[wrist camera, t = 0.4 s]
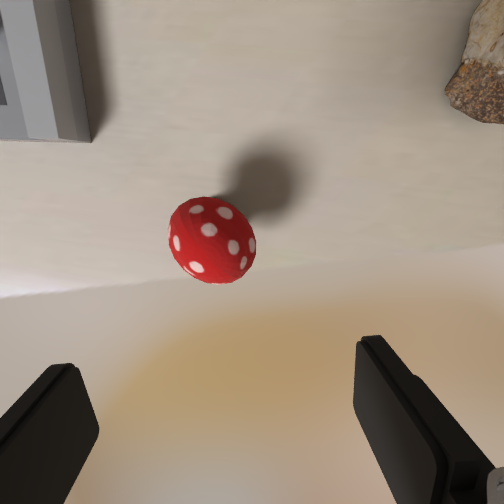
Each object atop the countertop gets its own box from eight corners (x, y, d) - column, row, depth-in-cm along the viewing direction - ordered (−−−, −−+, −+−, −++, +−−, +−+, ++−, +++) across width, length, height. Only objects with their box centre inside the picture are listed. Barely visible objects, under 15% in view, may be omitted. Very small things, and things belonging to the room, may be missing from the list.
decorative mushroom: (172, 215, 37) (130, 247, 23) (218, 173, 36) (204, 180, 22) (221, 265, 40) (210, 322, 26) (265, 228, 38) (280, 267, 24)
